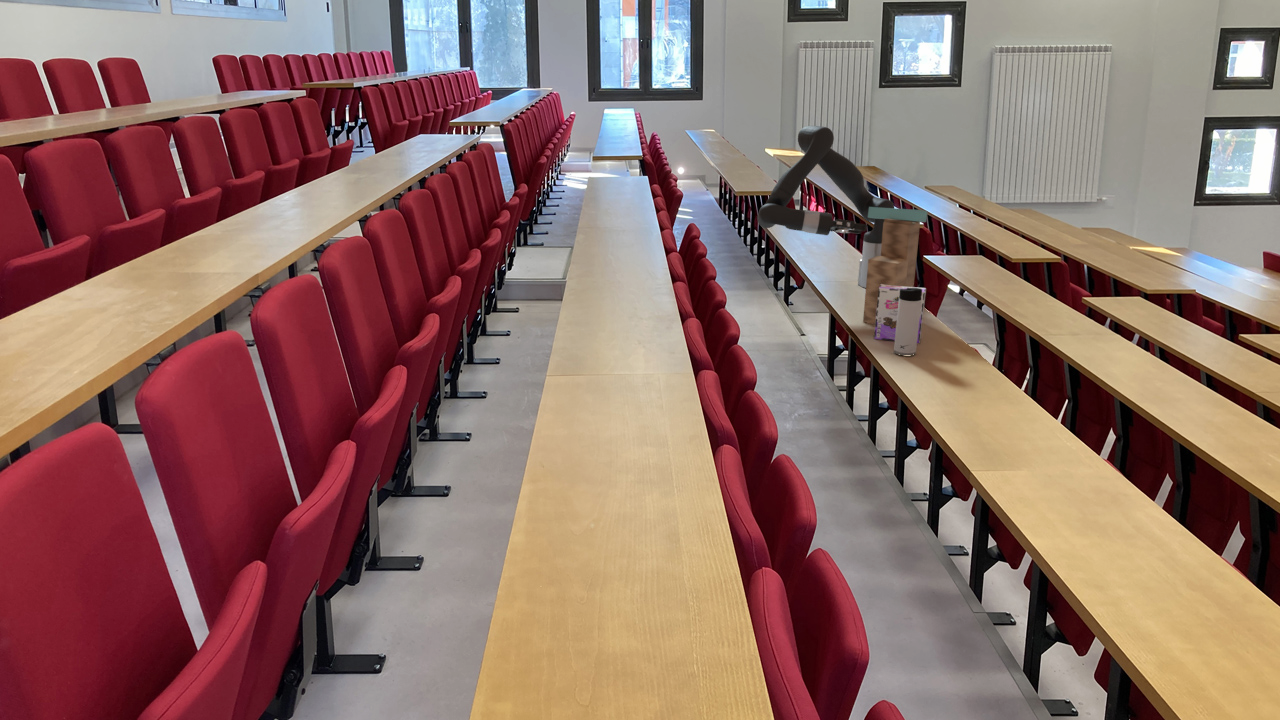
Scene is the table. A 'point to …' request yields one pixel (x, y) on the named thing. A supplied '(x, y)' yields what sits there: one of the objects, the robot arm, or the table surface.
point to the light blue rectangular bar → (897, 214)
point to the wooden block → (882, 281)
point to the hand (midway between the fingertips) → (863, 229)
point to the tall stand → (901, 243)
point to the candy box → (892, 312)
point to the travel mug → (907, 321)
